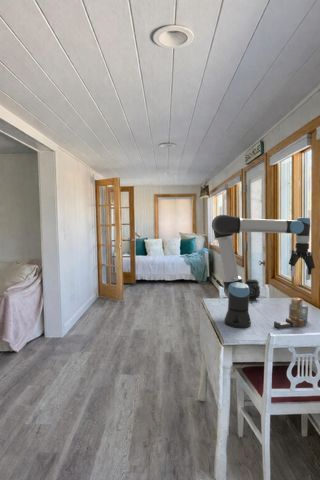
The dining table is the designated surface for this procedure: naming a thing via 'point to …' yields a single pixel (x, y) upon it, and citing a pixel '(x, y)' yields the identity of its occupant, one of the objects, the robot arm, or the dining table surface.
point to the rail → (285, 324)
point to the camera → (253, 289)
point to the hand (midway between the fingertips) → (300, 277)
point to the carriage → (295, 313)
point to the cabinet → (301, 311)
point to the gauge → (301, 301)
